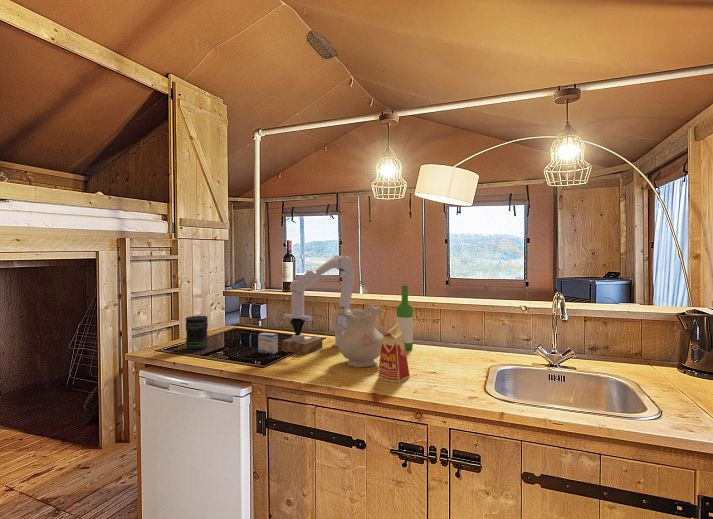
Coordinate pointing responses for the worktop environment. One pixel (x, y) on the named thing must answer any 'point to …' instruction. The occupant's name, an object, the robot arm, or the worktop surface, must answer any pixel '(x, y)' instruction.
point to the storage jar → (196, 333)
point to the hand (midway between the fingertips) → (297, 335)
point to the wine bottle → (405, 319)
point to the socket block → (302, 345)
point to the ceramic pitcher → (359, 336)
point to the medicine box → (267, 343)
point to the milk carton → (393, 357)
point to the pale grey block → (298, 338)
